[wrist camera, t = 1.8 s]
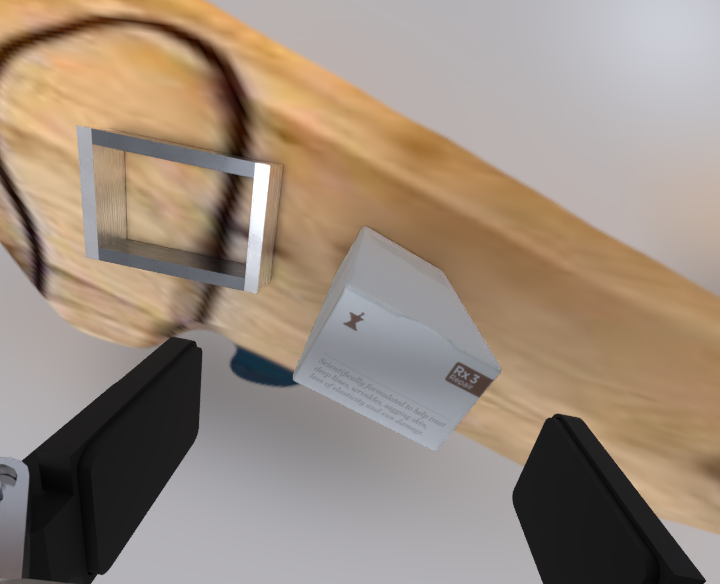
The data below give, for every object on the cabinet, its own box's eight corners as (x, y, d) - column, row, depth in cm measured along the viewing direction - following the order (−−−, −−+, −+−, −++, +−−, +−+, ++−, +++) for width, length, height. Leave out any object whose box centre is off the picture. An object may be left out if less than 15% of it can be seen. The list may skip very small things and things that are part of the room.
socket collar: (283, 165, 22) (270, 165, 19) (270, 281, 24) (257, 293, 22) (110, 129, 22) (76, 125, 19) (115, 248, 24) (85, 257, 22)
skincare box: (332, 279, 24) (277, 386, 12) (365, 219, 22) (338, 278, 11) (413, 324, 24) (431, 465, 13) (451, 268, 23) (508, 372, 12)
